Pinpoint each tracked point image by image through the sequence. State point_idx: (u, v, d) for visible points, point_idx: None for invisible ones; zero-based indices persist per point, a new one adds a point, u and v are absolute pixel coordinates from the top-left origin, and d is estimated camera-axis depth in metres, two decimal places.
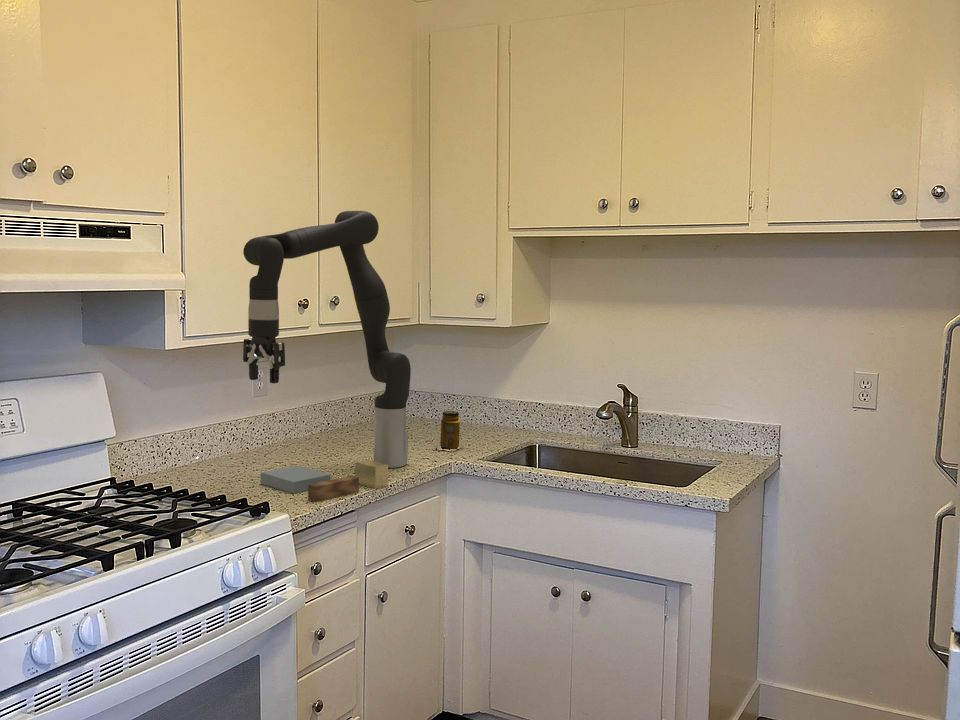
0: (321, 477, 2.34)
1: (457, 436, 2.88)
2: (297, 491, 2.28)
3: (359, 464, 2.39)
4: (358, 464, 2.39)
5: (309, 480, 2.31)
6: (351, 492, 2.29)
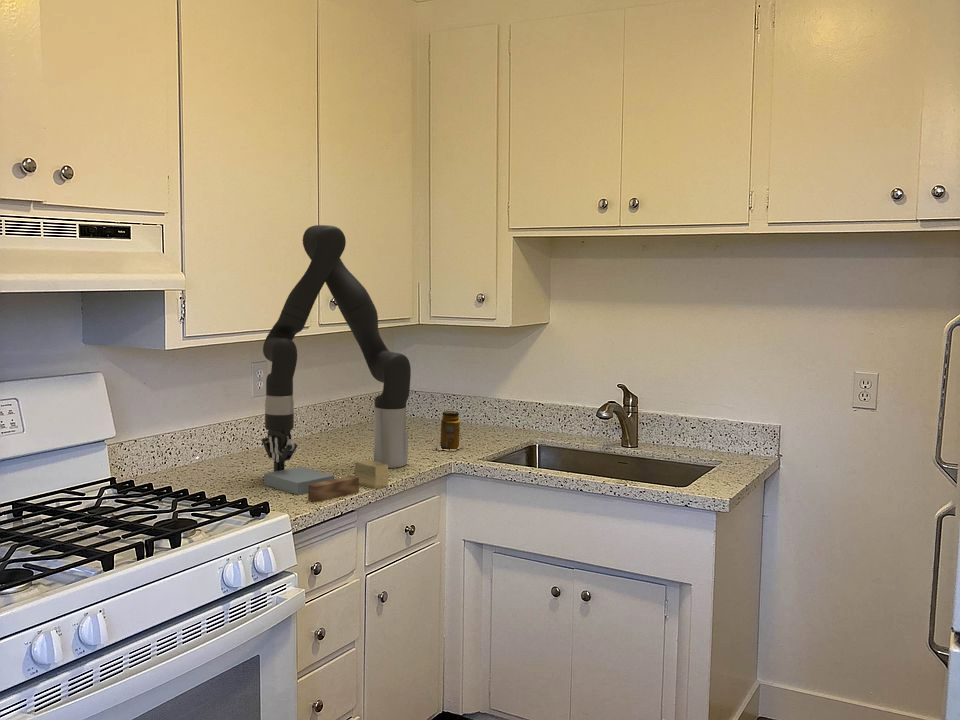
0: (325, 478, 2.33)
1: (457, 436, 2.88)
2: (301, 492, 2.27)
3: (359, 464, 2.39)
4: (358, 464, 2.39)
5: (313, 481, 2.30)
6: (351, 492, 2.29)
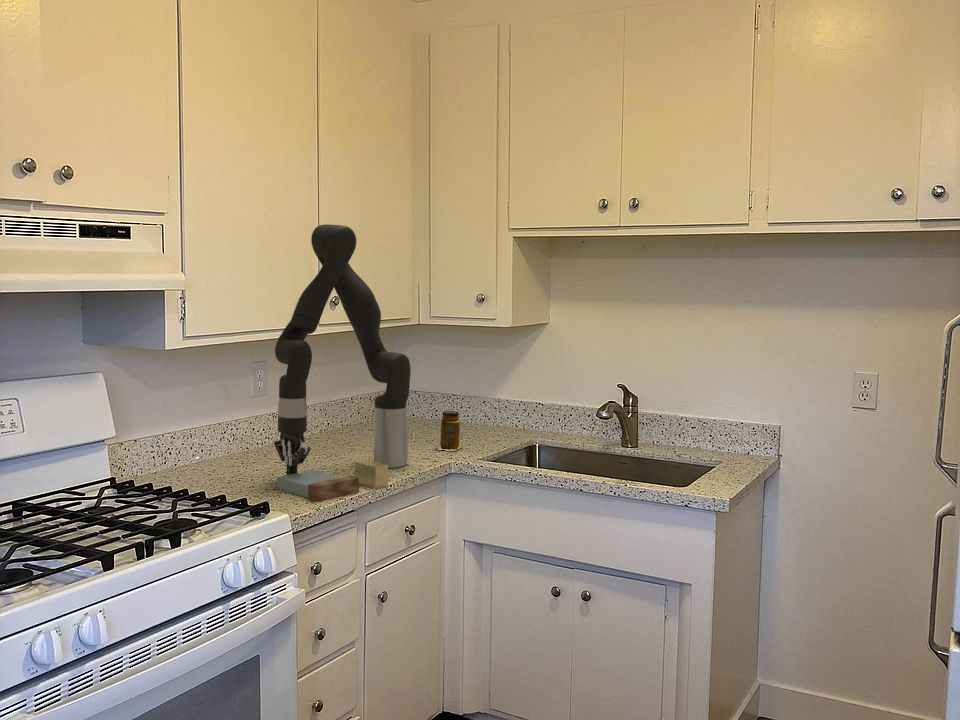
0: None
1: (457, 436, 2.88)
2: None
3: (359, 464, 2.39)
4: (358, 464, 2.39)
5: None
6: (351, 492, 2.29)
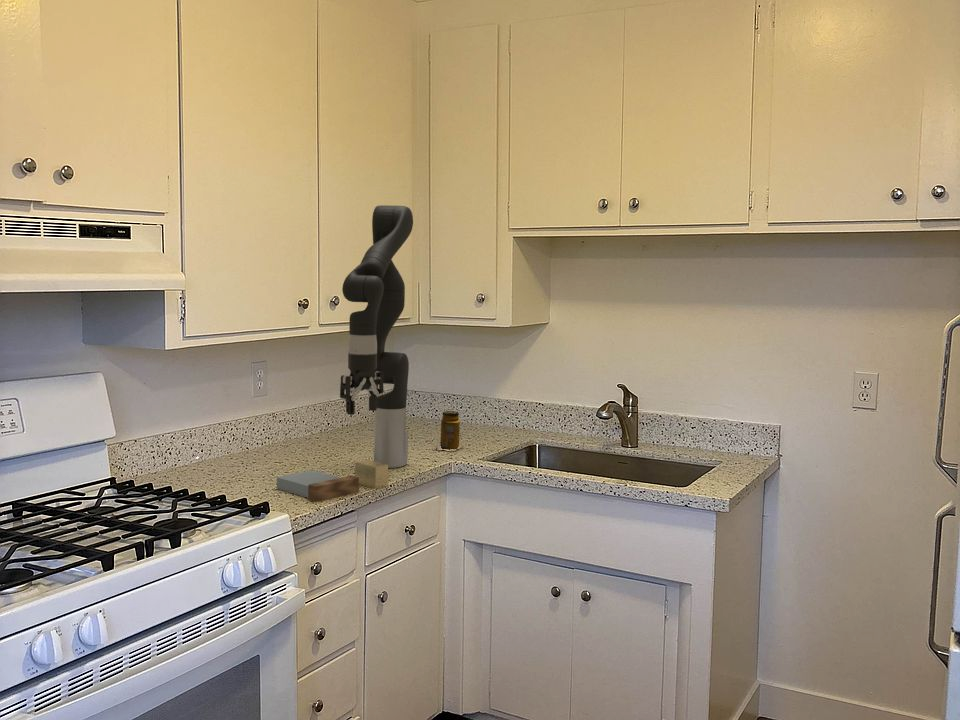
0: None
1: (457, 436, 2.88)
2: None
3: (359, 464, 2.39)
4: (358, 464, 2.39)
5: None
6: (351, 492, 2.29)
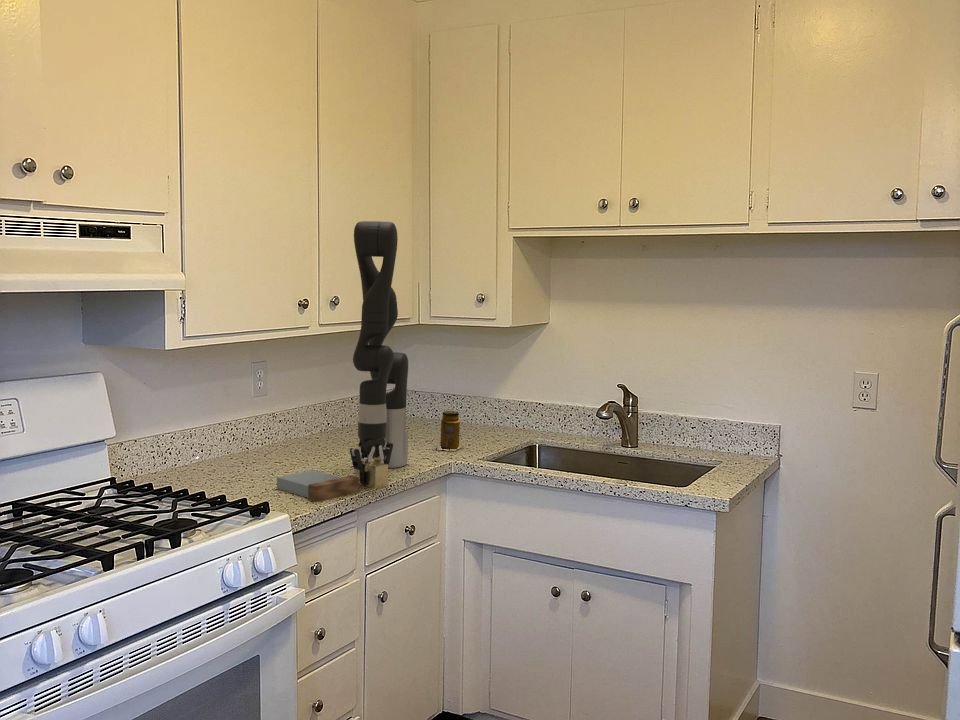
0: None
1: (457, 436, 2.88)
2: None
3: None
4: None
5: None
6: (351, 492, 2.29)
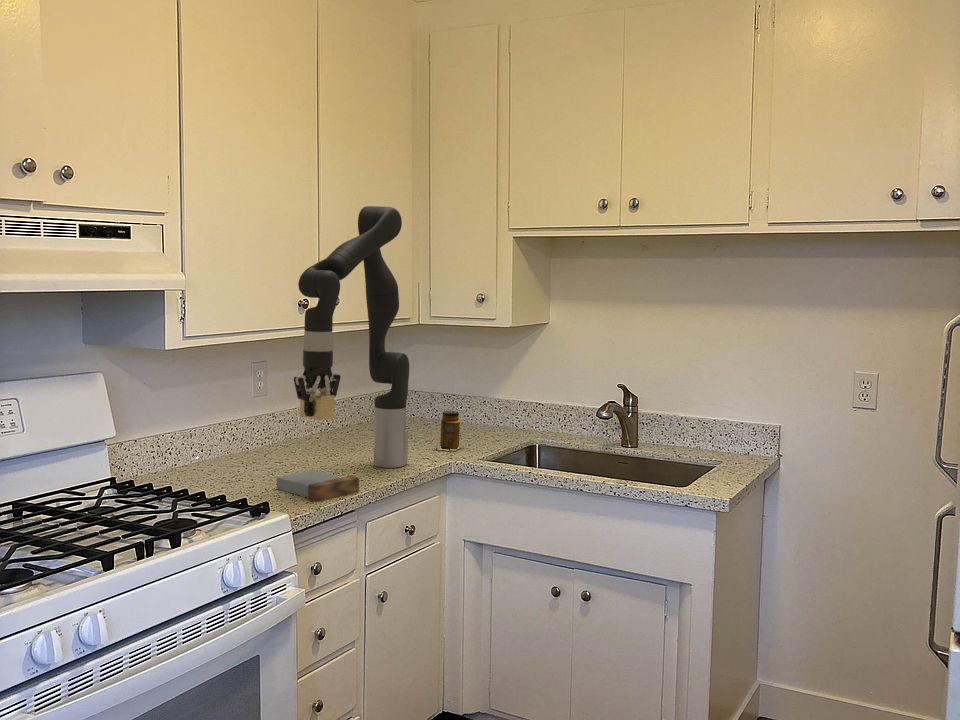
0: None
1: (457, 436, 2.88)
2: None
3: None
4: None
5: None
6: (351, 492, 2.29)
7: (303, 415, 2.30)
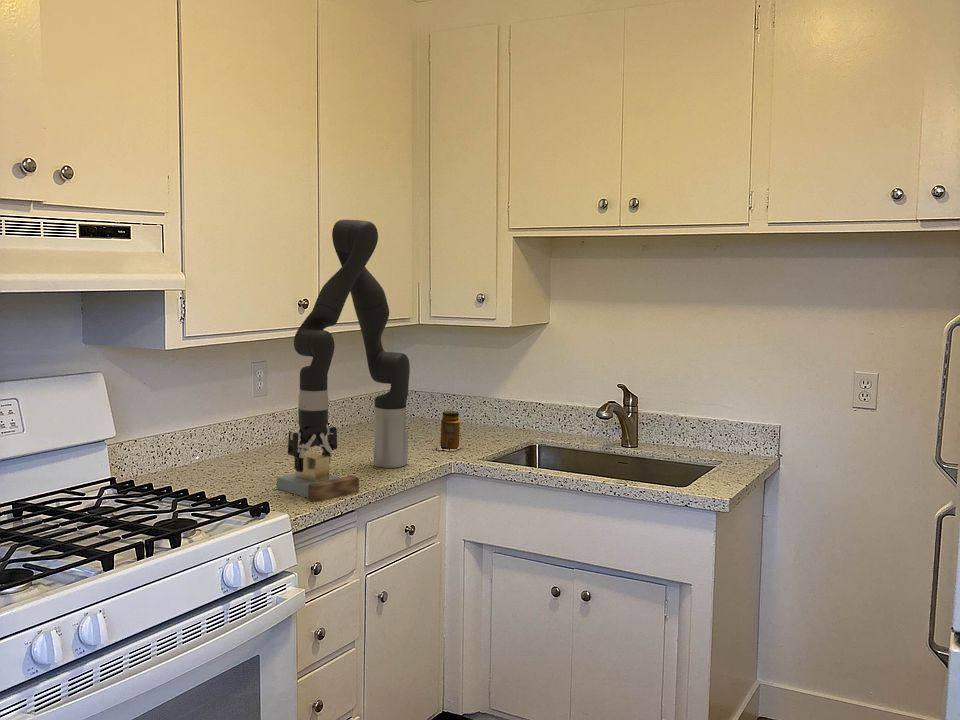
0: None
1: (457, 436, 2.88)
2: None
3: None
4: None
5: None
6: (351, 492, 2.29)
7: (299, 476, 2.32)
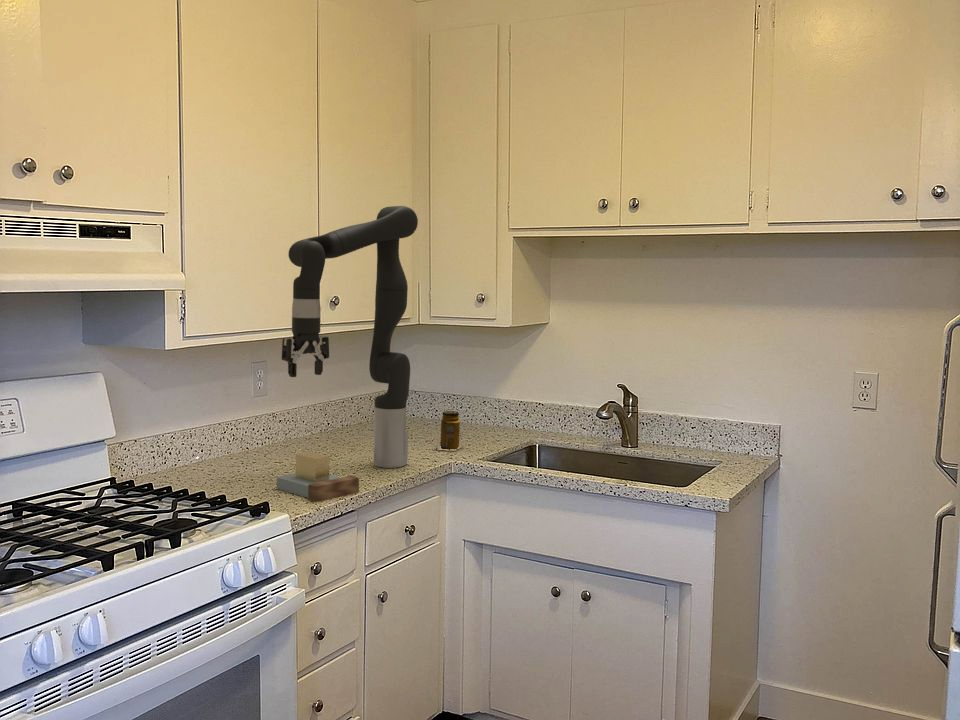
0: None
1: (457, 436, 2.88)
2: None
3: (300, 456, 2.31)
4: (299, 456, 2.31)
5: None
6: (351, 492, 2.29)
7: (299, 476, 2.32)
